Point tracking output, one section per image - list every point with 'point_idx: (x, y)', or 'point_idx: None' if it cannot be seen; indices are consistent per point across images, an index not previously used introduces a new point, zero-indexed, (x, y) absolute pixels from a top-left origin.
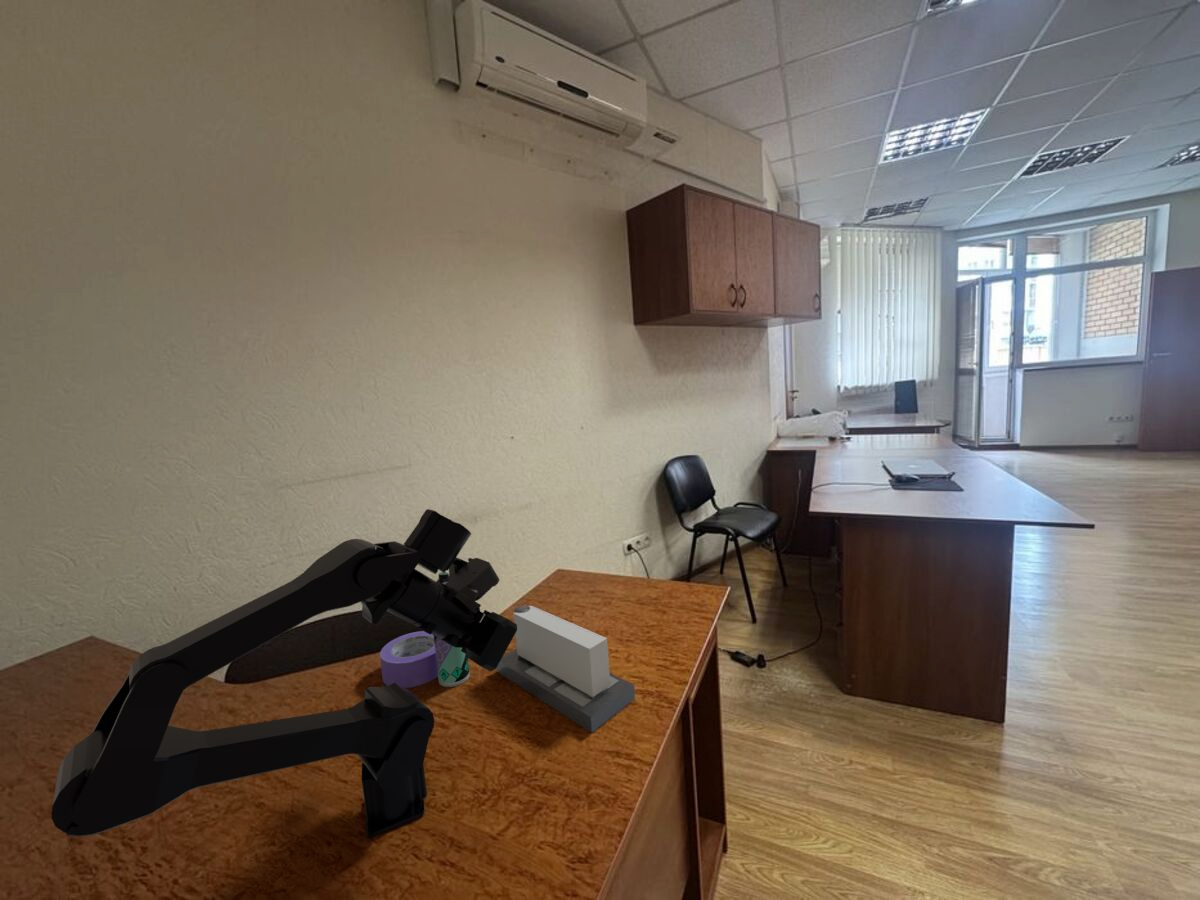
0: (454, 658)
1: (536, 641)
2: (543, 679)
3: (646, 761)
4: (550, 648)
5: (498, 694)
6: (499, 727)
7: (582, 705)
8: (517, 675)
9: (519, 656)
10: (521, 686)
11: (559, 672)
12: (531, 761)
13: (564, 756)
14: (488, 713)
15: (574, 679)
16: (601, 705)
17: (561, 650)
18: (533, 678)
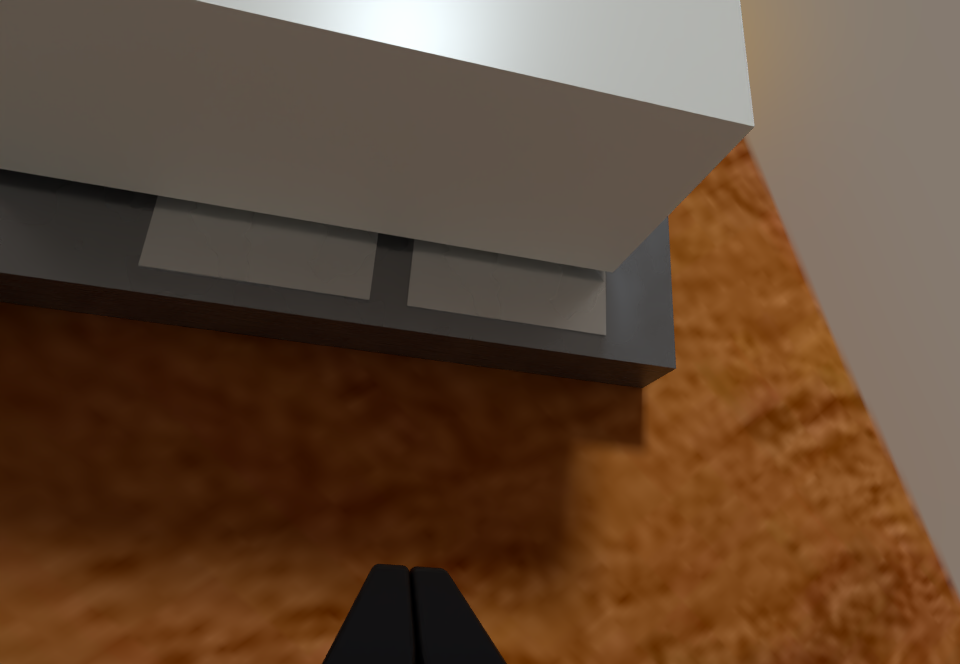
0: None
1: (167, 100)
2: (298, 269)
3: (855, 395)
4: (329, 131)
5: (61, 425)
6: (278, 603)
7: (599, 328)
8: (101, 293)
9: None
10: (148, 319)
11: (389, 216)
12: (573, 655)
13: (652, 545)
14: (132, 568)
15: (510, 234)
16: (656, 289)
17: (447, 138)
18: (237, 285)
